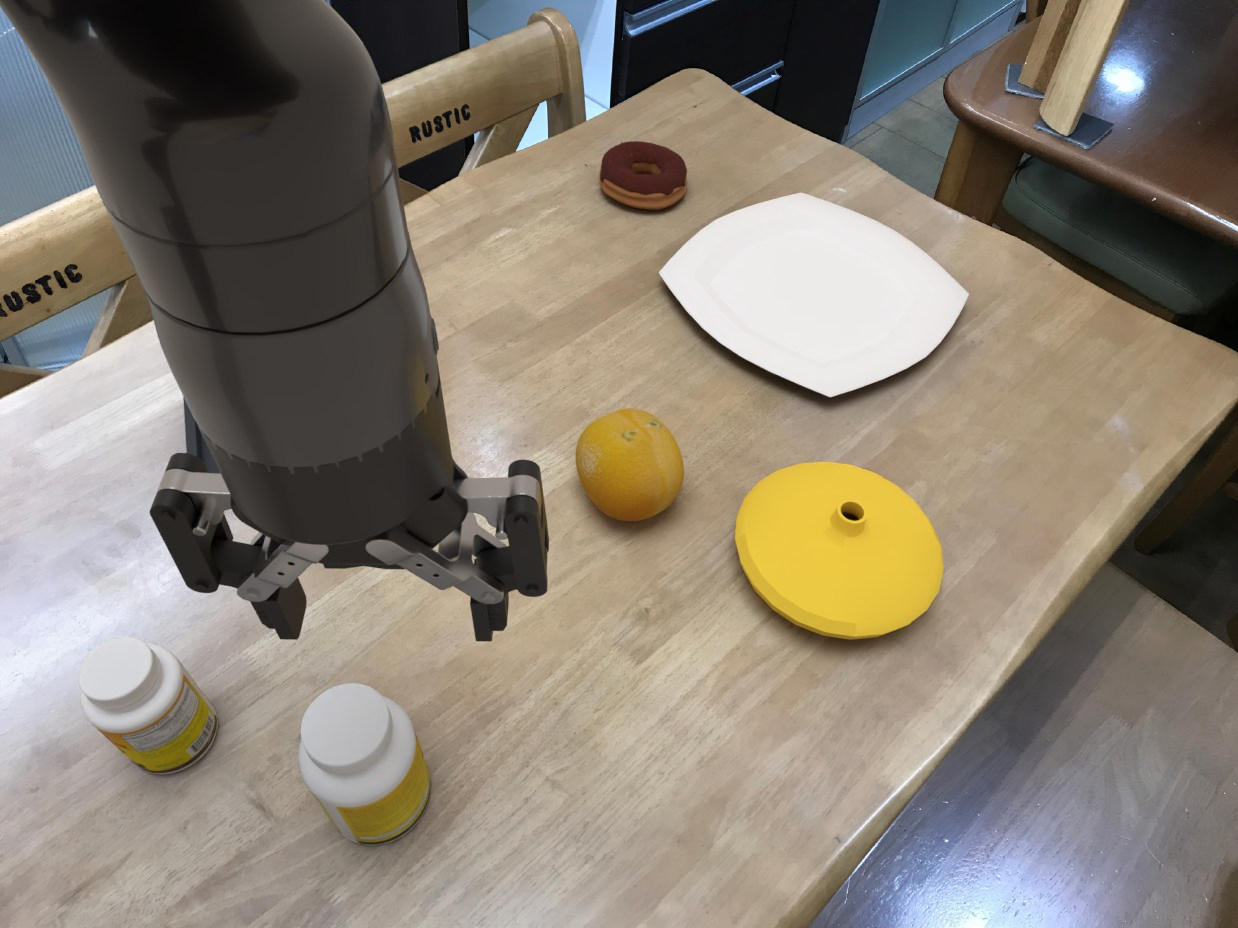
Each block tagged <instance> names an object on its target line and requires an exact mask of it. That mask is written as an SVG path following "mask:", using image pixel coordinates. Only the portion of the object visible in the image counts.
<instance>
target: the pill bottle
mask: <svg viewBox="0 0 1238 928" xmlns="http://www.w3.org/2000/svg"><path fill="white" fill-rule="evenodd" d="M300 739H301V740H300V744H299V748H298V767H299V771H300V775H301V778H302V781H303V782H304V783H305V785H306V787H307V789H308V790H309V792H310V793H311V795H312V796H313V797H314V798H315V800H316V801H317V803H318V804H319V806H320V807H321V809H322V810H323V812H324V813H325V814H326V816H327V817H328V819H329V820H330V822H331V824H332V825H333V826H334V828H335V830H337V832H339V834H341V835H342V836H343V837H344V838H346V839H347V840H349V841H351V842H353V843H356V844H359V845H363V846H381V845H387V844H389V843H392V842H394V841H397V840H399V839H401V838H402V837H404V836H405V835H406V834H407V833H409V832H410V831H411V830H412V829H413V828H414V827H416V825H417V824H418V823H419V822H420V820H421V819H422V818H423V816H424V813H426V810H427V807H428V805H429V801H430V798H431V791H432V781H431V780H432V779H431V775H430V771H429V767H428V765H427V762H426V759H425V756H424V754H423V750H422V747H421V745H420V742H419V738H418V736H417V733H416V730H415V728H414V725H413V722H412V721H411V719H410V717H409V715H408V714H407V713H406V711H405V710H404V709H403V707H401V706H400V705H399V704H398V703H397V702H396V701H393V700H392V699H391V698H388V697H386V696H384V695H381V694H380V693H379V692H378V691H377V689H374V688H373V687H371V686H369V685H366V684H363V683H358V682H357V683H356V682H355V683H354V682H350V683H349V682H348V683H342V684H338V685H335V686H333V687H330V688H328V689H326V690H324V691H323V692H321V694H319V695H318V696H317V697H316V698H315V699H313V701H312V702H311V703H310V704H309V705H308V707H307V709H306V710H305V712H304V715H303V717H302V720H301V724H300Z"/></svg>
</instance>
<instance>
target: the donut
mask: <svg viewBox="0 0 1238 928" xmlns="http://www.w3.org/2000/svg"><path fill="white" fill-rule="evenodd" d="M598 174H599V175H598V178H599V185H600V186H599V187H600V188H601V190H602V191H603V193H605V195H607V196H608V197H610V198H611V199H613V200H615V201H616V202H618V203H621V204H623V205H626V206H628V207H631V208H636V209H640V210H648V211H658V210H662V209H666V208H669V207H671V206H672V205H674V204H676V203H678V202H679V201H680V200H681V199H682V198H683V197H684V195H685V194H686V192H687V187H688V181H687V180H688V179H687V176H688V168H687V166H686V162H685V160H684V159H683V157H682V156H681V155H680V154H679V153H677V152H675V151H674V150H672V149H670V148H668V147H667V146H663V145H659V144H656V143H653V142H648V141H640V140H639V141H638V140H634V141H632V140H631V141H624V142H623V141H621V142H620V143H619V144H616V145H614V146H613V147H611V148H609V149H608V150H607V151H606V152H604V154H603V156H602V159H601V164H600V170H599V173H598Z"/></svg>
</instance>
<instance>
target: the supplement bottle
mask: <svg viewBox="0 0 1238 928" xmlns="http://www.w3.org/2000/svg"><path fill="white" fill-rule="evenodd" d="M77 683H78V687H79V690H80V695H79V696H80V697H79V699H80V700H79V701H80V708H81V710H82V713H83V715H84V717H85V718H86V719H87V721H88V722H89V723H90V724H91V725H92V726H93V727H94V728H95V729H96V730H97V731H99V732H100V734H102V735H103V736H104V737H105V738H106V739H107V740H108V741H109V742H110V743H112V745H114V746H115V747H116V748H117V749H118V750H119V751H120V753H122V754H123V755H124V756H125V757H127V758H128V759H129V760H130V761H131V762H132V763H133V764H134V765H135V766H137V767H138V768H139V769H141V770H143V771H144V772H147V773H149V774H153V775H170V774H174V773H178V772H181V771H183V770H185V769H187V768H190V767H191V766H193V765H194V764H195V763H197V762H198V761H199V760H200V759H201V758H202V757H204V755H205V754H206V753H207V752H208V751H209V749H210V748H211V746H212V745H213V743H214V741H215V738H216V736H217V732H218V725H219V721H218V720H219V719H218V713H217V711H216V708H215V707H214V705H213V704H212V702H211V700H210V698H208V697H207V695H206V694H205V693H204V691H203V690H202V689H201V687H200V686H199V684H197V682H196V681H195V679H194V677H192V676H191V674H190V673H189V671H188V670H187V669H186V668H185V667H184V665H183V664H182V662H181V661H180V660H179V658H178V657H177V656H176V655H175V654H174V653H173V652H172V651H171V650H170V649H168V648H167V647H165V646H163V645H161V644H157V643H152V642H145V641H143V640H141V639H139V638H137V637H132V636H119V637H114V638H112V639H109V640H107V641H104V642H102V643H100V644H99V645H97V646H96V647H95V648H94V649H92V650H91V651H90V652H89V653H88V654H87V656H85V658H84V659H83V660H82V662H81V664H80V666H79V669H78V673H77Z"/></svg>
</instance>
